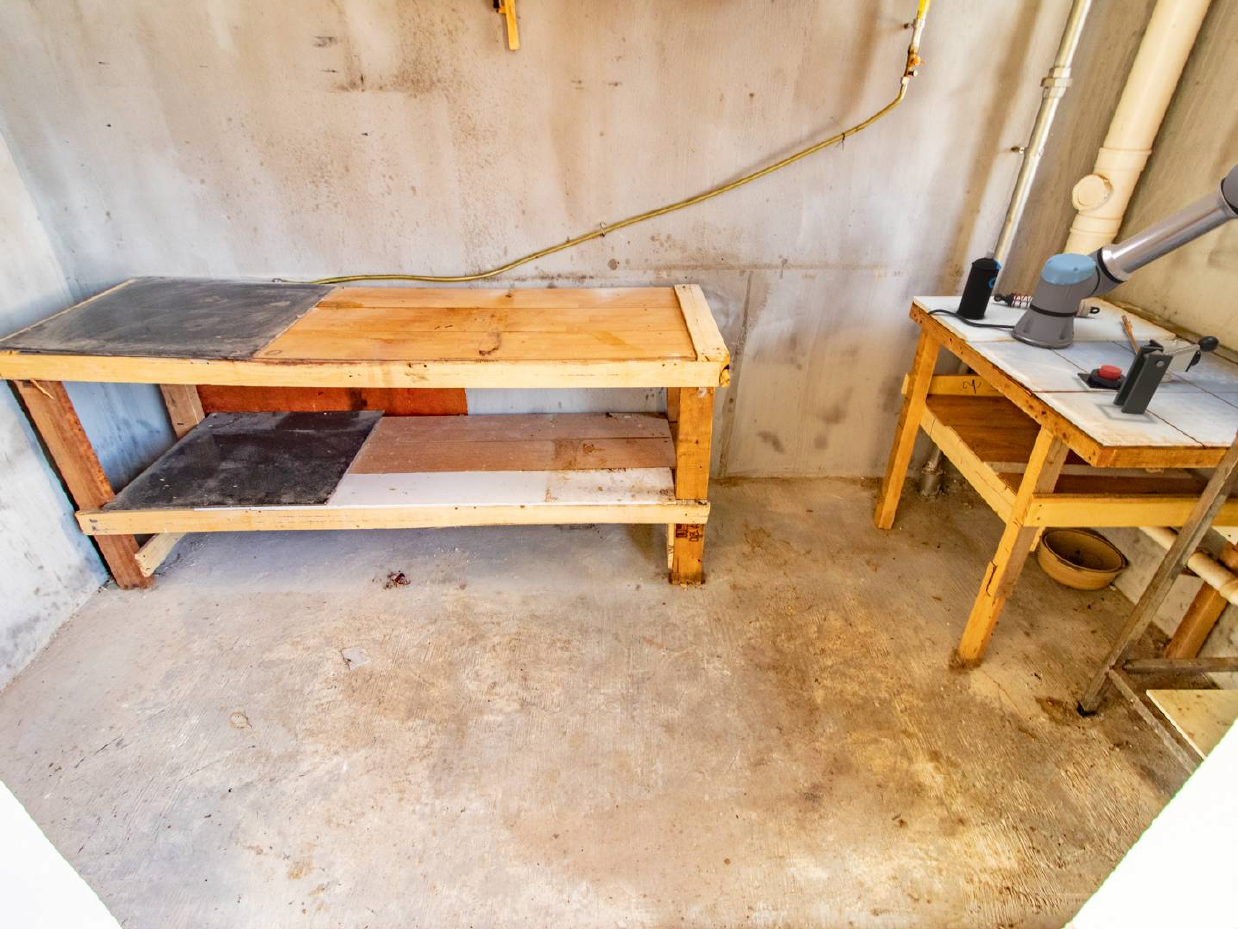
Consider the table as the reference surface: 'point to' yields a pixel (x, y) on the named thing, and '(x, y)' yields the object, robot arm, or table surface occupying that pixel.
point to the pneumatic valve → (1179, 361)
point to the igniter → (1110, 372)
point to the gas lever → (1192, 347)
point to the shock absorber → (1081, 311)
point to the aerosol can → (979, 287)
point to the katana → (1129, 332)
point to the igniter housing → (1101, 380)
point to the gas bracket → (1142, 380)
